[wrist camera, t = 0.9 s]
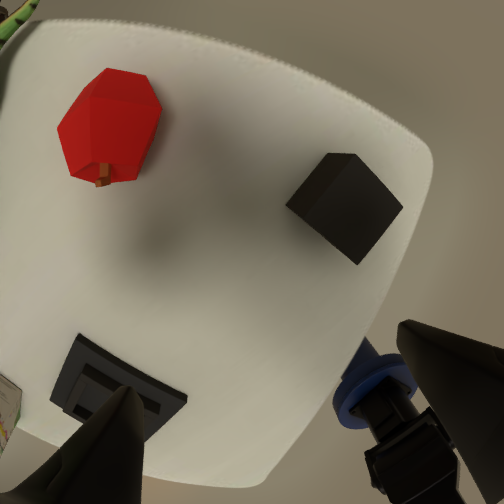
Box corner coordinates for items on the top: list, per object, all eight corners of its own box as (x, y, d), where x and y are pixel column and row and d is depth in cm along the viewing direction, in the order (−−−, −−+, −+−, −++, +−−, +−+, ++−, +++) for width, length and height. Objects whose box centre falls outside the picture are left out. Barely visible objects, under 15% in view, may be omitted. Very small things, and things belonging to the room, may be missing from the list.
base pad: (187, 395, 26) (186, 414, 23) (139, 442, 28) (136, 457, 25) (78, 332, 22) (69, 348, 20) (52, 394, 24) (44, 409, 22)
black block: (371, 196, 21) (403, 207, 17) (332, 244, 22) (357, 265, 18) (327, 152, 20) (355, 153, 16) (285, 204, 21) (302, 218, 16)
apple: (57, 52, 11) (26, 179, 10) (169, 42, 13) (158, 169, 12) (78, 106, 17) (66, 206, 17) (163, 101, 19) (158, 201, 19)
